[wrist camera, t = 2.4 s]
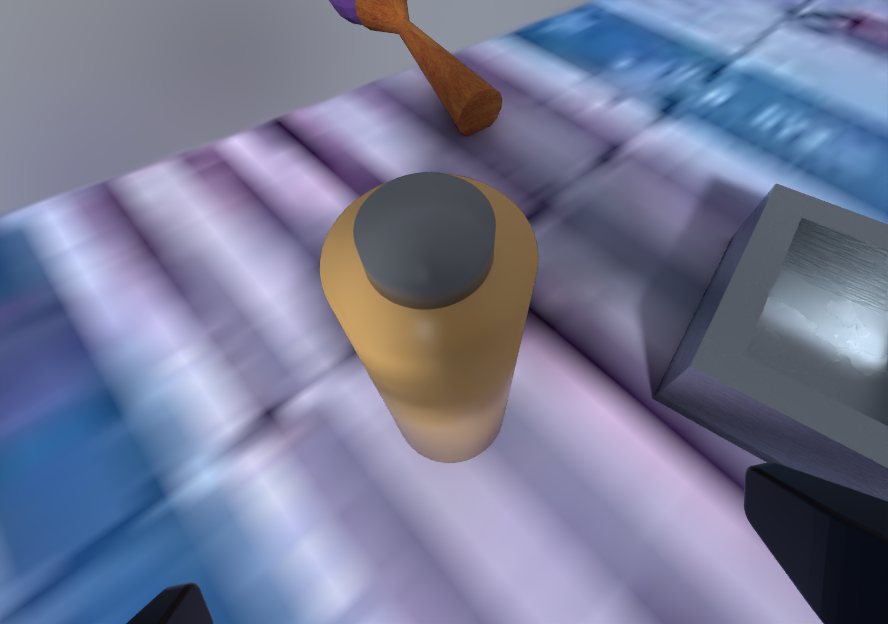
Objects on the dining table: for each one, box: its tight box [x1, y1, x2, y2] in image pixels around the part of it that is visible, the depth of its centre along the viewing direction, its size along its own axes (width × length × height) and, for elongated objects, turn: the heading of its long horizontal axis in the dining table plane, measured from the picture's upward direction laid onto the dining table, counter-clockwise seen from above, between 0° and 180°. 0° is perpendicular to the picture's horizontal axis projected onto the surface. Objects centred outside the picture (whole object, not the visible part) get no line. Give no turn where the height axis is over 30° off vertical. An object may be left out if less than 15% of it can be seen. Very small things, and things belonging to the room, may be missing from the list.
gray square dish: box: [653, 184, 888, 501], centre depth 19 cm, size 11×11×4 cm
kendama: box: [329, 0, 502, 136], centre depth 32 cm, size 6×6×20 cm
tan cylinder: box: [320, 172, 538, 463], centre depth 15 cm, size 5×5×13 cm
